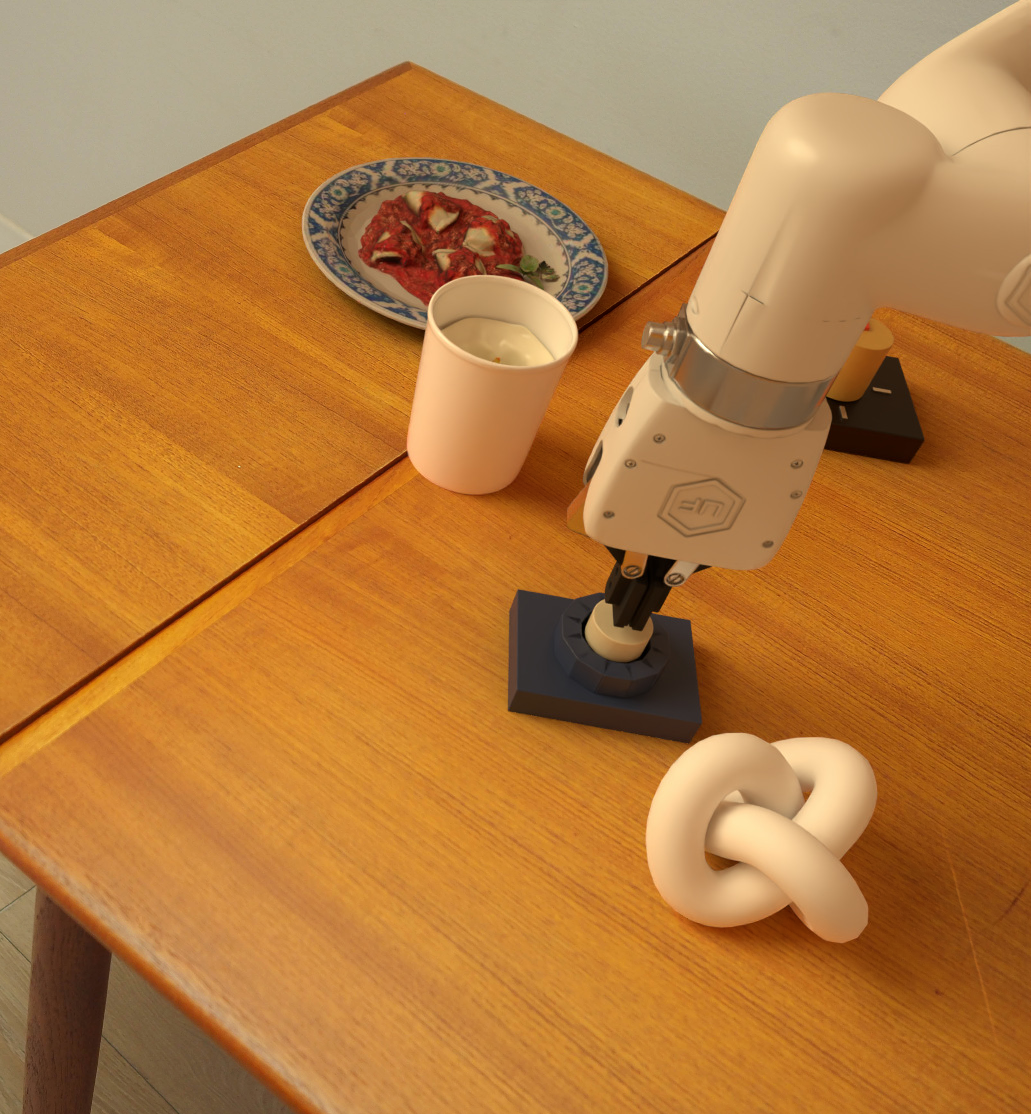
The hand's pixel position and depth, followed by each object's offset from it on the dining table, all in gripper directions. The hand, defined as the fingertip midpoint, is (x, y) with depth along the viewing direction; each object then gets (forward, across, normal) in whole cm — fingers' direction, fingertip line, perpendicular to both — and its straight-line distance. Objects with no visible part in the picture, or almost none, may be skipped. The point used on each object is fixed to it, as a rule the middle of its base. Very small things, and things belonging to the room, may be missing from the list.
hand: (625, 610), depth 73 cm
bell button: (+3, 0, 0) cm, 3 cm away
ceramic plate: (+6, -11, +42) cm, 44 cm away
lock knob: (+4, +19, +31) cm, 37 cm away
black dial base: (+6, +19, +31) cm, 37 cm away
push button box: (+6, 0, 0) cm, 6 cm away
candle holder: (+6, -9, +18) cm, 21 cm away
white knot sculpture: (+6, +7, -12) cm, 16 cm away
